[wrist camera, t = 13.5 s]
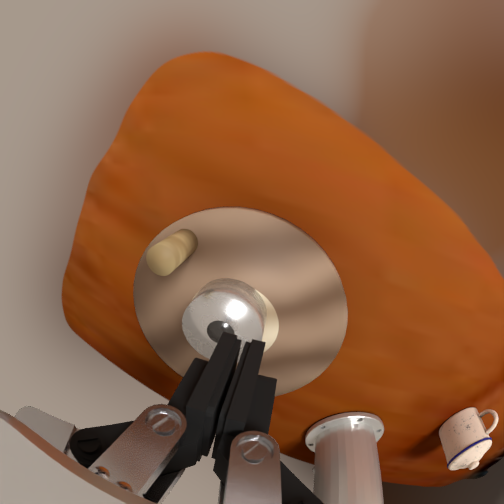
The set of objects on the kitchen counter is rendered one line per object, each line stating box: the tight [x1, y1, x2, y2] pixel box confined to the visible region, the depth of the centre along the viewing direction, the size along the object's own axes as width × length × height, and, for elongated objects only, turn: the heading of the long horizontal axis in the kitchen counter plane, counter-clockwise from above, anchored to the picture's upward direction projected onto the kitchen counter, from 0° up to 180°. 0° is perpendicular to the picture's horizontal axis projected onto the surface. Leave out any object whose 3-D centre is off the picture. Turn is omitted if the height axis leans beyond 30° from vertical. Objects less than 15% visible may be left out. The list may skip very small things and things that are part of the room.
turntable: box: [133, 207, 348, 396], centre depth 24 cm, size 22×22×6 cm
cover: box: [182, 278, 267, 363], centre depth 24 cm, size 7×7×4 cm
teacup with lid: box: [439, 407, 498, 470], centre depth 25 cm, size 12×9×12 cm
